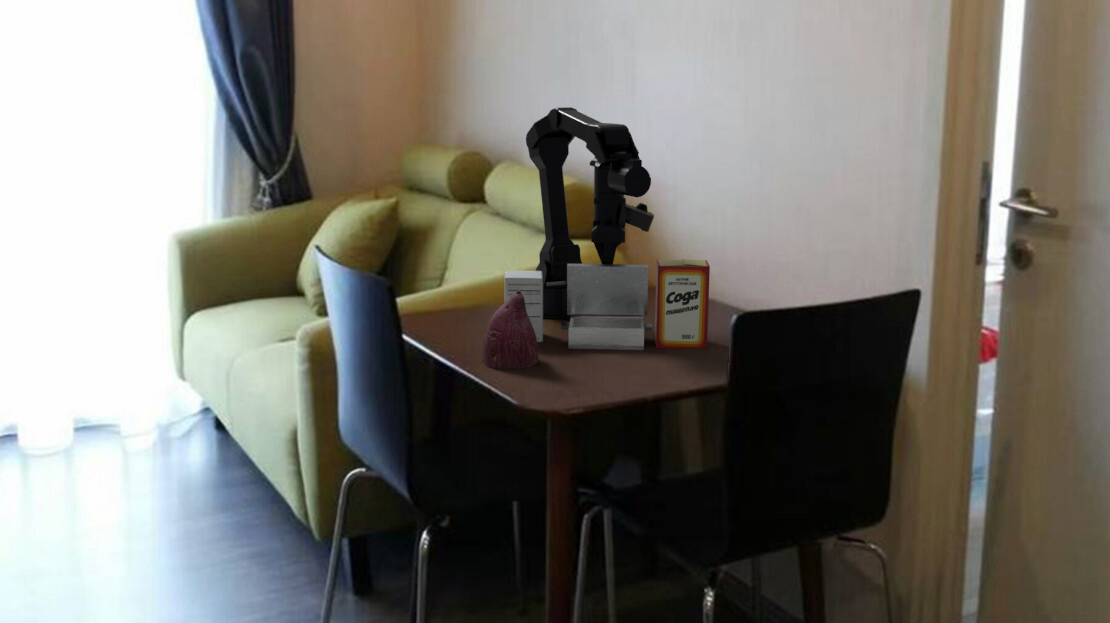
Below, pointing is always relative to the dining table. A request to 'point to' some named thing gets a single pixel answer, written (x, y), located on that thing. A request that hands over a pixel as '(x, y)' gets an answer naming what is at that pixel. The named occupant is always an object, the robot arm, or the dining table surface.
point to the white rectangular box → (606, 332)
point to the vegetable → (510, 337)
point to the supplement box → (528, 295)
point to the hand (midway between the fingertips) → (608, 273)
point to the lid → (607, 290)
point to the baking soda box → (682, 303)
